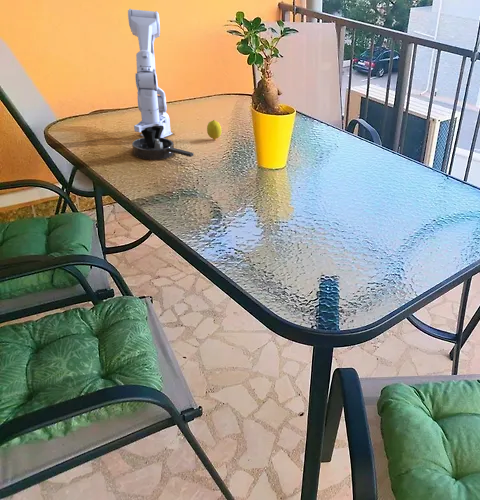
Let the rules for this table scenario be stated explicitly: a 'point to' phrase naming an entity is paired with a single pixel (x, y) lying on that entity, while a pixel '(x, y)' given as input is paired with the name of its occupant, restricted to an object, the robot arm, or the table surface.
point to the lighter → (157, 145)
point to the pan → (146, 153)
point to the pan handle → (181, 152)
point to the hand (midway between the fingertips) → (153, 146)
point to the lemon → (214, 129)
